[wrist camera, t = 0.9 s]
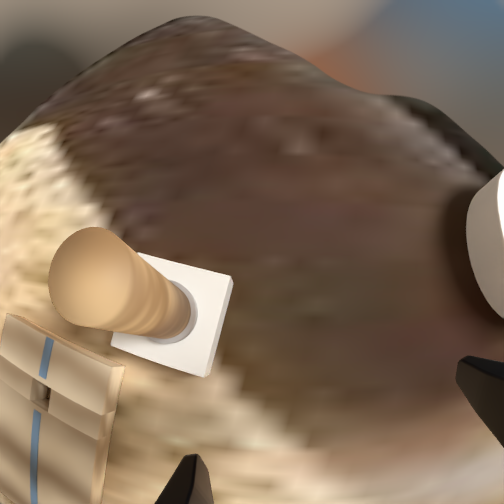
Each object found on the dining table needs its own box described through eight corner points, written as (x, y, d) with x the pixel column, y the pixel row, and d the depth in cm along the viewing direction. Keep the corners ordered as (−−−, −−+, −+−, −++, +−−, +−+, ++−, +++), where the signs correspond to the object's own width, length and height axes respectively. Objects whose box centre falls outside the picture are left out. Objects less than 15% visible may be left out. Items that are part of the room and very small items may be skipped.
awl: (195, 351, 21) (118, 351, 9) (143, 334, 22) (31, 312, 9) (210, 296, 22) (154, 231, 10) (158, 282, 23) (65, 211, 10)
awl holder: (209, 374, 21) (203, 377, 18) (124, 346, 21) (110, 345, 19) (233, 283, 23) (230, 276, 20) (149, 262, 23) (138, 252, 21)
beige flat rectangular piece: (98, 540, 15) (87, 551, 13) (7, 481, 16) (-7, 486, 14) (125, 366, 21) (110, 367, 18) (23, 317, 22) (6, 312, 20)
